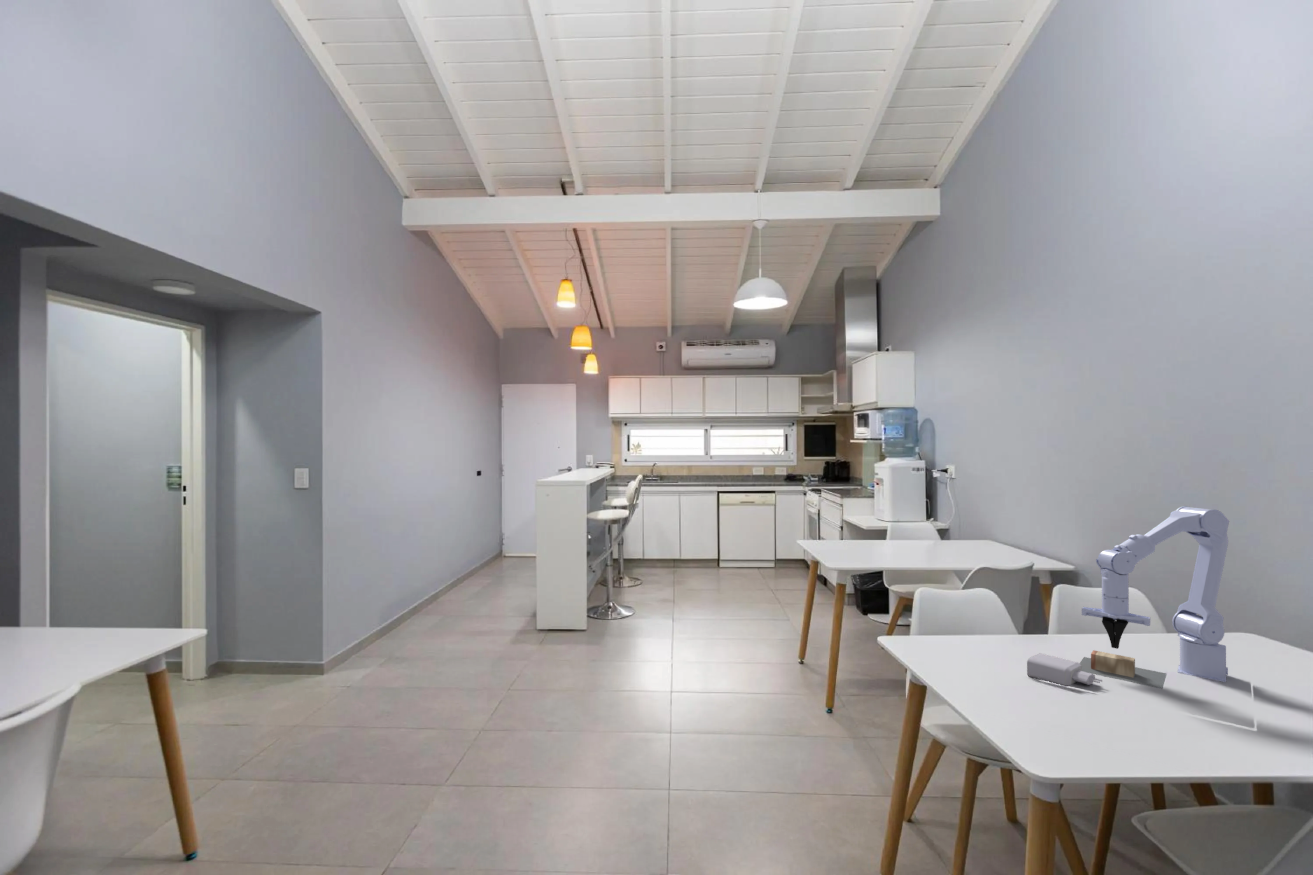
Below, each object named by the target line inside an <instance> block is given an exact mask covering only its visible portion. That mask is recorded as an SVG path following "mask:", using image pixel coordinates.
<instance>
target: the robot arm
mask: <svg viewBox="0 0 1313 875" xmlns="http://www.w3.org/2000/svg"><path fill="white" fill-rule="evenodd" d="M1229 525H1230V519H1228V518H1227V517H1226V516H1225V514H1224V513H1223V512H1222V511H1220V510H1219V509H1214V508H1211V509H1209V508H1201V507H1191V506H1188V505H1184V506H1180V507H1177V509H1175V510H1173V511H1171V512H1170V514H1169V516H1168V517H1167V518H1166V519H1165V520H1162V522H1160V523H1158V525H1156V526H1155V527H1153V528H1152V529H1150V530H1149V531H1147V533H1145V534H1140V533H1138V534H1137V533H1136V534H1131V535H1129V536H1128V539H1126V540H1124V541H1122V543H1120V544H1116V545H1114V546H1113V548H1112V549H1104V550H1103V551H1101V552H1100V553H1099V554H1098V556H1097V558H1096V559H1095V562H1096V566H1097V567H1098V568H1099V569H1100V575H1101V608H1096V607H1095V608H1094V607H1086V606H1083V607H1081V615H1082V616H1085V617H1086V616H1087V617H1095V618H1101V619H1102V620H1101V622H1102V623H1101V624H1102V625H1103V627H1104V629H1105V630H1106V633H1107V636H1108V639H1109V642H1110V647H1111V648H1112V649H1116V650H1117V649H1119V647H1120V642H1121V638H1122V636H1123V634H1124V631H1125V629H1126V628H1127V626H1128V624H1129V623H1132V624H1137V625H1144V626H1145V627H1146V626H1147V627H1150V626H1151V617H1150V616H1145V615H1140V614H1136V613H1132V612H1131V613H1130V611H1129V605H1130V604H1129V602H1130V600H1129V597H1130V596H1129V593H1130V592H1129V588H1130V587H1129V583H1130V582H1129V581H1130V580H1129V578H1130V577H1129V574H1132V572H1133V571H1134V570H1135V566H1136V565H1137V564H1138V563H1139V562H1140V561H1142V560H1144V559H1146V558H1148V557H1149V556H1150V555H1152V554H1154V552H1155V550H1156V546H1157V545H1159V544H1161V543H1163V542H1165V541H1166V540H1169V539H1170V538H1172V537H1174V536H1176V535H1178V534H1181V533H1182V532H1184V533H1187V534H1188V535H1190V536H1191V537H1193V538H1194V540H1196V542H1197V543H1198V550H1197V555H1196V560H1195V565H1194V569H1193V574H1192V580H1191V584H1190V589H1189V593H1188V599H1187V601H1185V602H1183V603H1180V604H1179V605H1178V608H1177V610H1176V611H1177V612H1175V614H1174V615H1173V616H1172V620H1171V625H1172V628H1173V629H1174V630H1175V632H1177V636H1178V637H1179V664H1178V667H1177V671H1176V672H1177V673H1178V674H1183V675H1188V676H1191V677H1198V678H1203V679H1206V680H1212V681H1217V682H1222V683H1227V676H1228V675H1229V667H1227V645H1225V644H1220V642H1221V641H1222V640H1223V639H1224V637H1225V627H1224V620H1225V619H1224V616H1223V615H1222V614H1221V612H1219V610H1218V609H1217V607H1216V605H1217V600H1218V595H1219V591H1220V586H1221V581H1222V580H1221V579H1222V576H1223V571H1224V566H1225V560H1226V555H1227V550H1228V547H1229V537H1228V530H1229Z"/></svg>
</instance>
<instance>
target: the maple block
mask: <svg viewBox="0 0 1313 875" xmlns="http://www.w3.org/2000/svg"><path fill="white" fill-rule="evenodd" d="M1090 658H1091V669H1095V670H1100V671H1104V672H1109V673H1114V674H1119V675H1123V676H1128V677H1134V675H1135V667H1136V658H1135V657H1131V656H1125V655H1120V654H1115V653H1110V652H1105V651H1099V650H1095V649H1094V650H1092V652H1090Z"/></svg>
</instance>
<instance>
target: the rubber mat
mask: <svg viewBox="0 0 1313 875" xmlns="http://www.w3.org/2000/svg"><path fill="white" fill-rule="evenodd" d="M1078 663H1079V664H1080V665H1081V666H1082V671H1083V672H1087V673H1091V674H1093V675H1095V676H1096V675H1097V676H1103V677H1106V678H1111V679H1114V680H1120V681H1124V682H1130V683H1134V684H1140V685H1144V686H1148V687H1153V688H1158V689H1163V687H1164V684H1165V680H1166V677H1167V673H1166V672H1161V671H1156V670H1152V669H1146V668H1142V667H1136V666H1135V675H1134V677H1128V676H1123V675H1119V674H1114V673H1109V672H1104V671H1100V670H1095V669H1091V657H1086V656H1084V657H1083V658H1082V659H1081V660H1080V662H1078Z"/></svg>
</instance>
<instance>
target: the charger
mask: <svg viewBox="0 0 1313 875" xmlns="http://www.w3.org/2000/svg"><path fill="white" fill-rule="evenodd" d="M1079 663H1080V662H1078V661H1074V660H1071V659H1070V660H1069V659H1066V658H1063V657H1062V658H1061V657H1058V656H1054V655H1050V654H1046V653H1041V652H1039V653H1037V654H1035V655H1033V656H1031V657H1029V658H1028V659H1027V661H1026V674H1027V676H1028V677H1032V678H1035V679H1039V680H1040V679H1042V680H1041V681H1046V682H1048V681H1049V683H1052V682H1053V683H1052V684H1055V683H1056V684H1057V685H1059V684H1060V686H1063V687H1070V686H1072V685H1074V684H1075V683H1080V684H1085V685H1088V686H1090V685H1092V684H1093V683H1097V684H1100V683H1101V682H1102V683H1103V679H1100V678H1096V674H1092V673H1087V672H1083V671H1082V666H1081V665H1080V664H1079Z"/></svg>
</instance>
